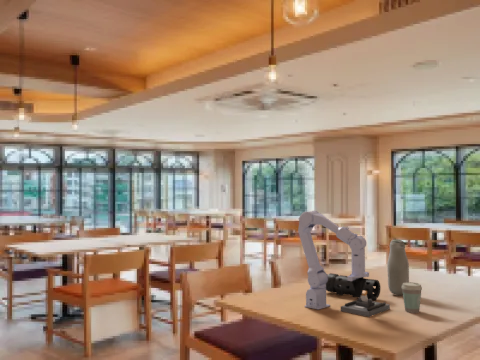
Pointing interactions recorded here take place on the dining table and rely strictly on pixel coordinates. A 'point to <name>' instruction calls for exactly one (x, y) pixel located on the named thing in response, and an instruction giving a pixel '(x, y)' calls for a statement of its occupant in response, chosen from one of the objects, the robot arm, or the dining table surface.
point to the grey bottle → (397, 267)
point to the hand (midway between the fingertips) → (358, 295)
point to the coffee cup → (412, 296)
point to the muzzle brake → (351, 286)
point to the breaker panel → (365, 307)
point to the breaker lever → (364, 296)
